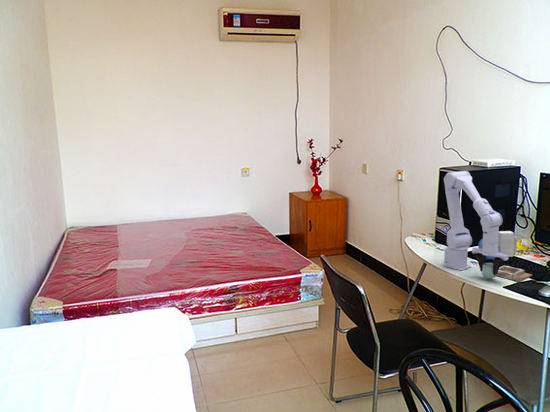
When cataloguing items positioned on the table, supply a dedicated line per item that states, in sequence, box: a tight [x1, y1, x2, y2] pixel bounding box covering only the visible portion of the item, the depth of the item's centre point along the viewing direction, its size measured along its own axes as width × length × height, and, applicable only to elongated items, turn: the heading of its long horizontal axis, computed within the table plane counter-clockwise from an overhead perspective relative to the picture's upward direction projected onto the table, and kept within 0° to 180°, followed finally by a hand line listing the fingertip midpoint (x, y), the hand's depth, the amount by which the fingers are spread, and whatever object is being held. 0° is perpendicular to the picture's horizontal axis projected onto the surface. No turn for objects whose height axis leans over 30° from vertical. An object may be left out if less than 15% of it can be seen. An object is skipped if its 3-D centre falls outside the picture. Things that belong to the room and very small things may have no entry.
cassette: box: [513, 236, 518, 253], centre depth 222 cm, size 12×2×8 cm, turn 28°
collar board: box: [495, 265, 533, 283], centre depth 188 cm, size 14×11×2 cm
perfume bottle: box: [477, 238, 495, 260], centre depth 212 cm, size 6×6×12 cm
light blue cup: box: [481, 262, 496, 279], centre depth 184 cm, size 5×5×5 cm
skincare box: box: [498, 230, 515, 258], centre depth 212 cm, size 6×4×12 cm
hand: (488, 272), depth 184 cm, fingers closed on light blue cup, 5 cm apart
